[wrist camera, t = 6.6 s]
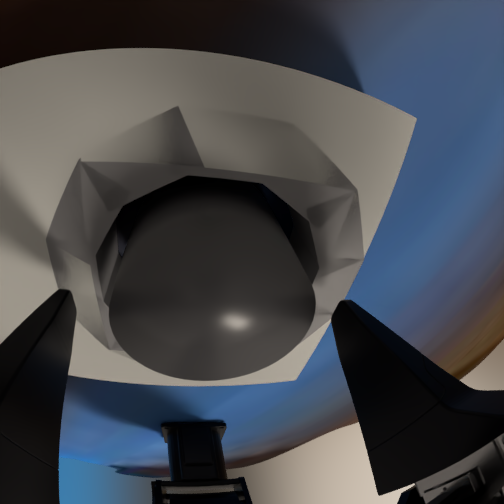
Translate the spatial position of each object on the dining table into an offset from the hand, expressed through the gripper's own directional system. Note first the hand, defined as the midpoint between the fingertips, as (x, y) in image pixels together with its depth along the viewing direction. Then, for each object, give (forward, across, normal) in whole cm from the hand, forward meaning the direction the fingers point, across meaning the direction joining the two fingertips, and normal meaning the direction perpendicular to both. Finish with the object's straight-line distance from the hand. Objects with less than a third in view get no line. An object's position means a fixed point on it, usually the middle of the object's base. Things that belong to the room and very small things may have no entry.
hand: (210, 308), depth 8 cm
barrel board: (+4, +4, 0) cm, 5 cm away
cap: (+4, 0, 0) cm, 4 cm away
